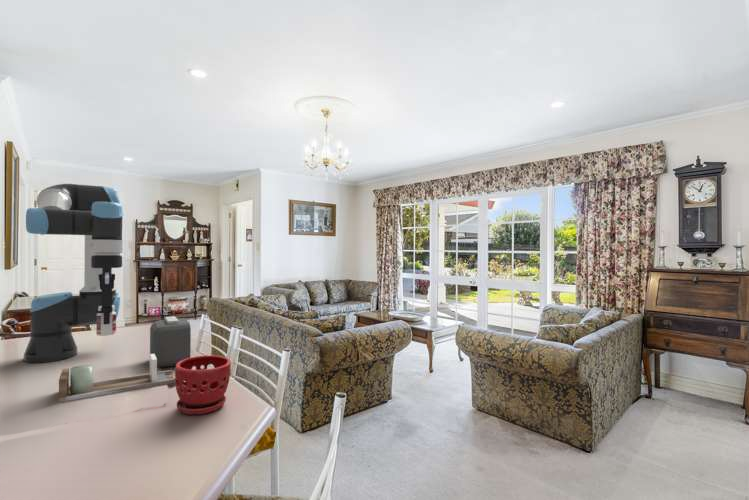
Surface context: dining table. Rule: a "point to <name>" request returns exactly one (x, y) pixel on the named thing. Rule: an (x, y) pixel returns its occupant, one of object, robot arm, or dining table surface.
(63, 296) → the robot arm
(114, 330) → the pill bottle
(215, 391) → the plant pot
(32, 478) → the dining table surface
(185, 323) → the alarm clock
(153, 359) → the paddle
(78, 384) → the pale green rounded block
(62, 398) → the tray
